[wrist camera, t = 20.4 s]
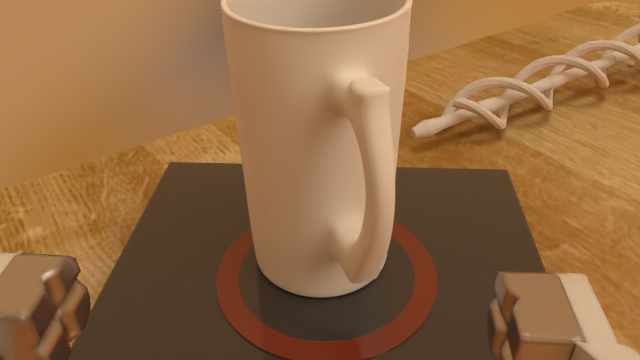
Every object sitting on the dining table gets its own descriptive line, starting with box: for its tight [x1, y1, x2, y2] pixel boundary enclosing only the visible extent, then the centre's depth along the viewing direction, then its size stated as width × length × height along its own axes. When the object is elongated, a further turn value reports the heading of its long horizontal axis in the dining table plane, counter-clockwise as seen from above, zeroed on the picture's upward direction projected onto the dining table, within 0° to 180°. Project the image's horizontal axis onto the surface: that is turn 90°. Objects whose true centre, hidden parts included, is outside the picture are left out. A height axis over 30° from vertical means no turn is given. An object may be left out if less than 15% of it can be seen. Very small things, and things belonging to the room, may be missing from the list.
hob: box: [68, 162, 546, 360], centre depth 26 cm, size 20×18×2 cm
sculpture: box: [410, 13, 640, 139], centre depth 41 cm, size 7×5×30 cm
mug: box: [221, 0, 412, 298], centre depth 22 cm, size 10×7×12 cm, turn 18°
